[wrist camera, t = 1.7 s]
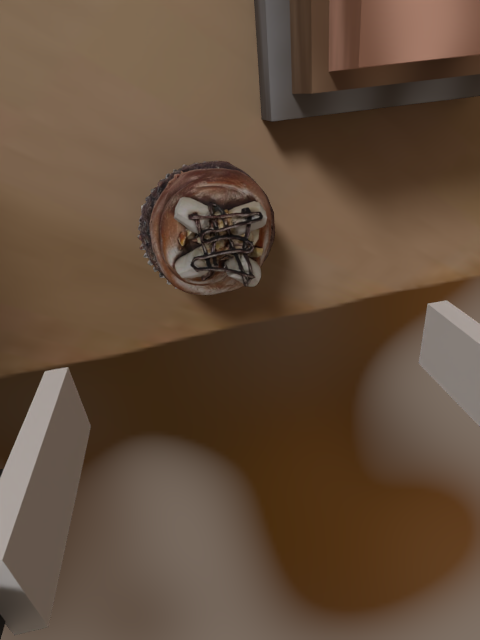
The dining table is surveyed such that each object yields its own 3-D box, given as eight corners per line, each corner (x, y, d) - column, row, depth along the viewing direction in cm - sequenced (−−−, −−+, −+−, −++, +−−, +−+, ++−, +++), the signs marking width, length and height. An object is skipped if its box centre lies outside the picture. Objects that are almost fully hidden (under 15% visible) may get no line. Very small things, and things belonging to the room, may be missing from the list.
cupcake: (127, 161, 30) (114, 188, 21) (254, 145, 31) (292, 164, 22) (153, 279, 35) (151, 340, 26) (263, 261, 36) (296, 314, 27)
